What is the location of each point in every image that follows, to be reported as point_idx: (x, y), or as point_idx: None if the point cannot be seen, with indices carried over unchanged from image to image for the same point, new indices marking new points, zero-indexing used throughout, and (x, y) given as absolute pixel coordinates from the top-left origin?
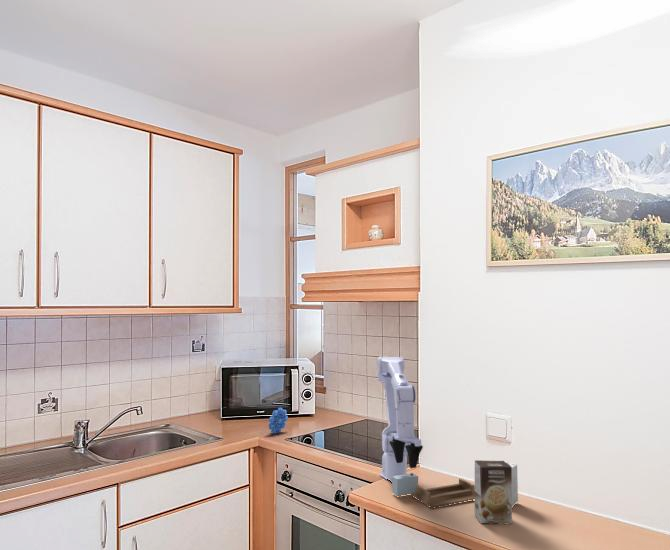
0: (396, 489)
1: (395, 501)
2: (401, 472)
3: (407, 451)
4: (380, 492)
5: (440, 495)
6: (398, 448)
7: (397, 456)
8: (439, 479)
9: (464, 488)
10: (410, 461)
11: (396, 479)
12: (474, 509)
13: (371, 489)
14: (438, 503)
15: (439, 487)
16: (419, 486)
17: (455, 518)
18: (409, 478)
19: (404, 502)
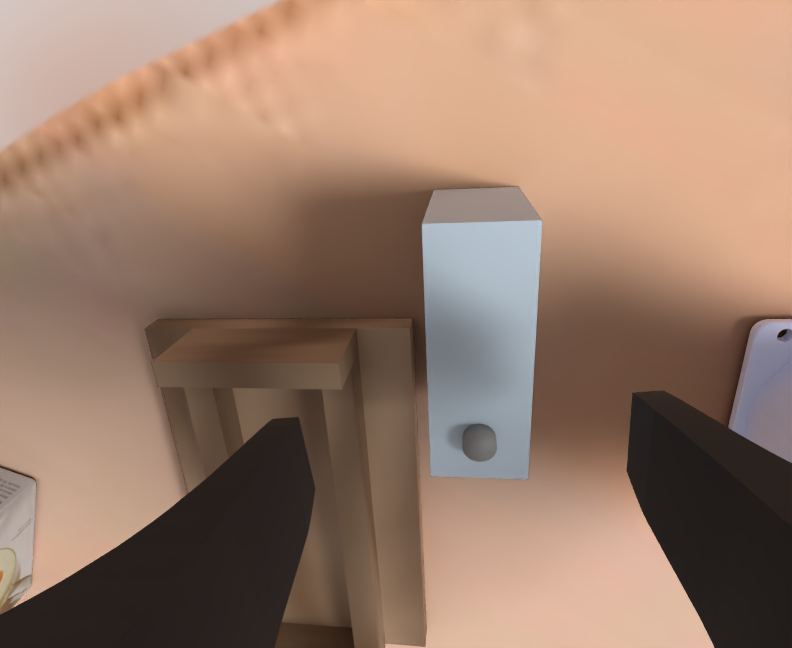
0: (441, 200)
1: (366, 134)
2: (789, 459)
3: (141, 598)
4: (626, 99)
5: (206, 452)
6: (780, 629)
7: (686, 464)
8: (622, 639)
9: (324, 640)
10: (215, 472)
11: (437, 222)
12: (10, 502)
13: (755, 40)
14: (175, 391)
15: (354, 530)
16: (319, 388)
17: (6, 369)
18: (428, 377)
19: (322, 199)
